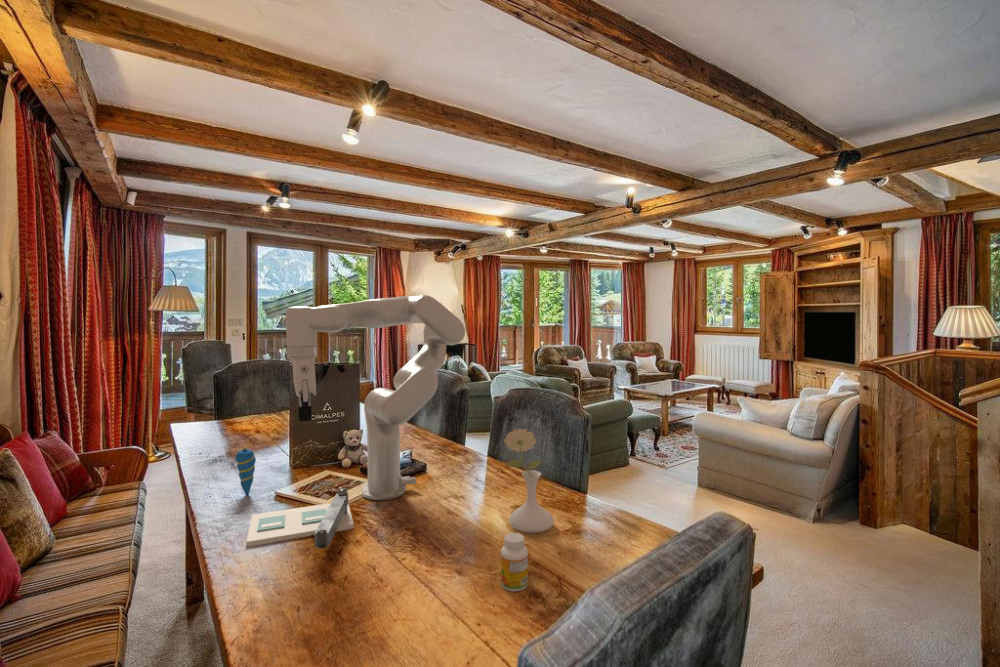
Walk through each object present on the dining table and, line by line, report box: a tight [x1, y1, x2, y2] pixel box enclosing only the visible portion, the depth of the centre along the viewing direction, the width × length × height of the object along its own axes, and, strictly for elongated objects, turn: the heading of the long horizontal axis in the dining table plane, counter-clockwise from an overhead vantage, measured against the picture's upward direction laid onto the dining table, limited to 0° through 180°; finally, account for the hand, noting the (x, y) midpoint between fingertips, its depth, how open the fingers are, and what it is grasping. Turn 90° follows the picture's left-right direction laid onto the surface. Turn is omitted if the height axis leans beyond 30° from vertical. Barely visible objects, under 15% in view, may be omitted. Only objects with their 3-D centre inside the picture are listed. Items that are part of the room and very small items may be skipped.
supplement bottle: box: [500, 532, 529, 593], centre depth 96 cm, size 5×5×10 cm
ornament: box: [235, 446, 257, 496], centre depth 141 cm, size 5×5×15 cm
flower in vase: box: [503, 428, 555, 534], centre depth 121 cm, size 13×11×25 cm
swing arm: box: [313, 487, 349, 549], centre depth 115 cm, size 25×3×6 cm, turn 7°
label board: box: [245, 503, 355, 547], centre depth 123 cm, size 24×16×2 cm, turn 113°
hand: (305, 420), depth 129 cm, fingers closed
